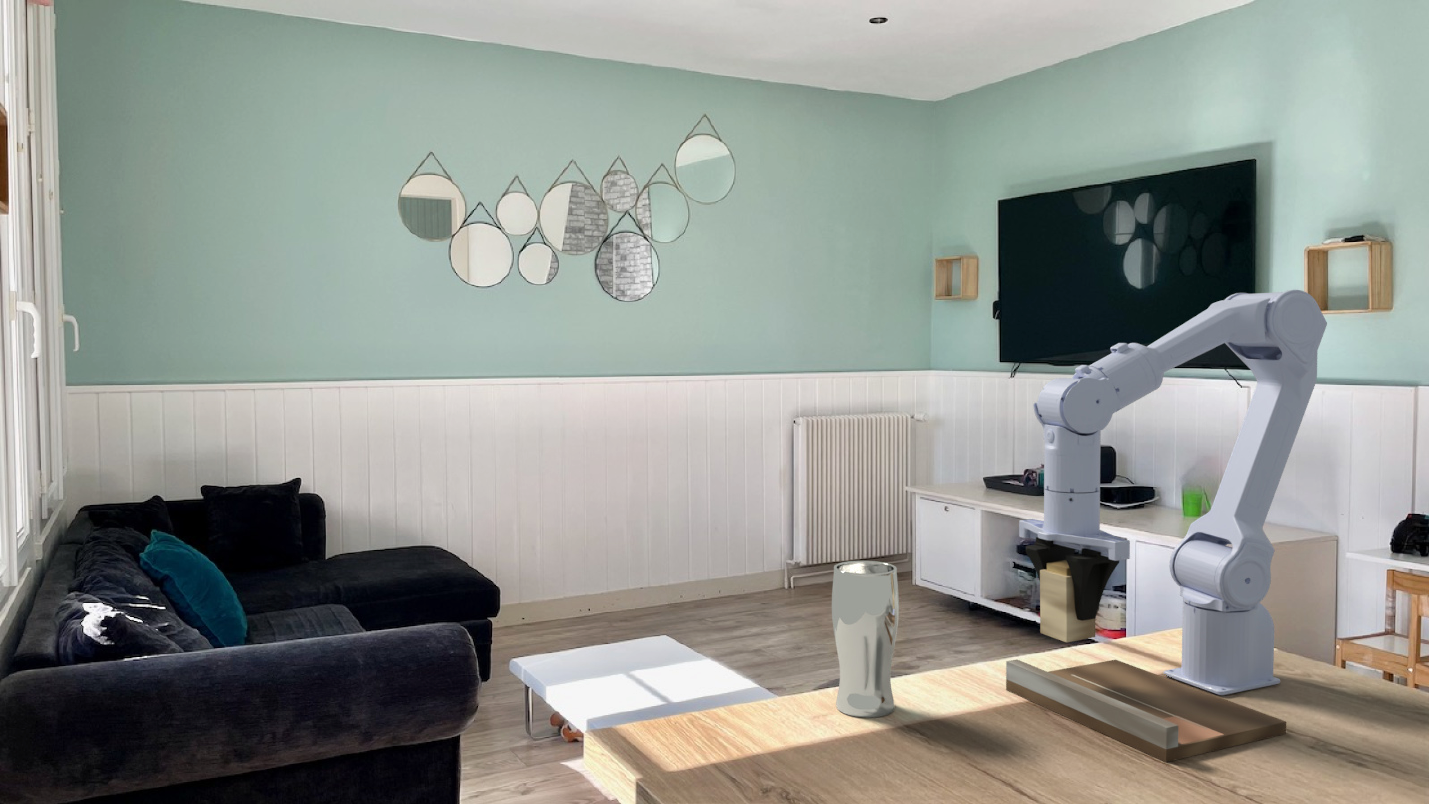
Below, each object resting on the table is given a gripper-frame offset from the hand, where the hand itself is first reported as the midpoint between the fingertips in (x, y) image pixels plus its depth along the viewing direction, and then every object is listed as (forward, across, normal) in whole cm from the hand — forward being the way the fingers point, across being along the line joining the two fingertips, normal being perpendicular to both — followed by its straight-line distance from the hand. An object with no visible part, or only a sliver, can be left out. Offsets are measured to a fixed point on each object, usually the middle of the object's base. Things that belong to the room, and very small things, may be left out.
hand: (1070, 613), depth 115 cm
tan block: (+2, 0, 0) cm, 2 cm away
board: (+9, +7, +3) cm, 12 cm away
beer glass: (+9, -6, -22) cm, 25 cm away
